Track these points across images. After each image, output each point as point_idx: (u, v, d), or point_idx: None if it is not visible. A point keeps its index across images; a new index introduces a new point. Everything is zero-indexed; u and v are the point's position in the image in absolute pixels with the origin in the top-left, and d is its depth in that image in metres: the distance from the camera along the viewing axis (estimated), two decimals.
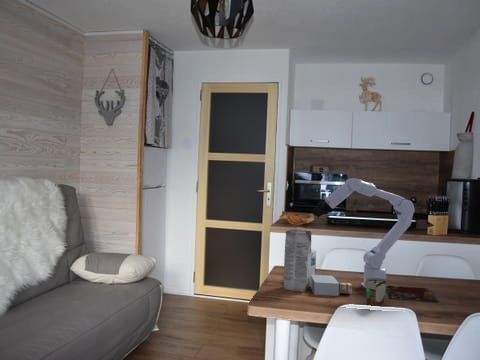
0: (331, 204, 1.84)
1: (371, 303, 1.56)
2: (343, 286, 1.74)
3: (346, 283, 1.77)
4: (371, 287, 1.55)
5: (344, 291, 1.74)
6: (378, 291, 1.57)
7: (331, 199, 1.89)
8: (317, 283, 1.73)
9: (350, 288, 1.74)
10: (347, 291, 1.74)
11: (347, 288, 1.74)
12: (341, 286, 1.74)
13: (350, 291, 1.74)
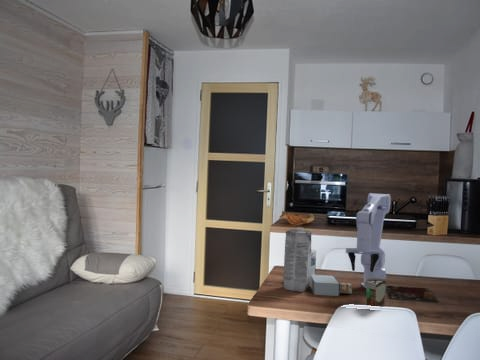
0: None
1: (371, 303, 1.56)
2: (343, 286, 1.74)
3: (346, 283, 1.77)
4: (371, 287, 1.55)
5: (344, 291, 1.74)
6: (378, 291, 1.57)
7: (370, 247, 1.75)
8: (317, 283, 1.73)
9: (350, 288, 1.74)
10: (347, 291, 1.74)
11: (347, 288, 1.74)
12: (341, 286, 1.74)
13: (350, 291, 1.74)
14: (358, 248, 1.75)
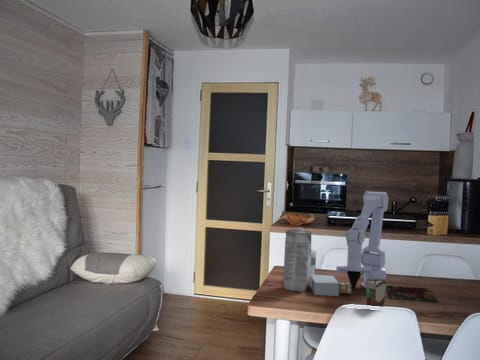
0: None
1: (371, 303, 1.56)
2: (342, 286, 1.74)
3: (345, 283, 1.77)
4: (371, 287, 1.55)
5: (343, 291, 1.74)
6: (378, 291, 1.57)
7: (360, 266, 1.75)
8: (317, 283, 1.73)
9: (349, 288, 1.74)
10: (346, 291, 1.74)
11: (346, 288, 1.74)
12: (340, 286, 1.74)
13: (349, 291, 1.74)
14: (349, 266, 1.75)
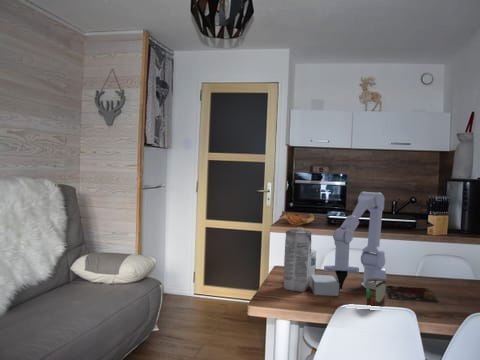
0: None
1: (371, 303, 1.56)
2: None
3: None
4: (371, 287, 1.55)
5: None
6: (378, 291, 1.57)
7: (348, 265, 1.75)
8: (317, 283, 1.73)
9: None
10: None
11: None
12: None
13: None
14: (336, 266, 1.75)
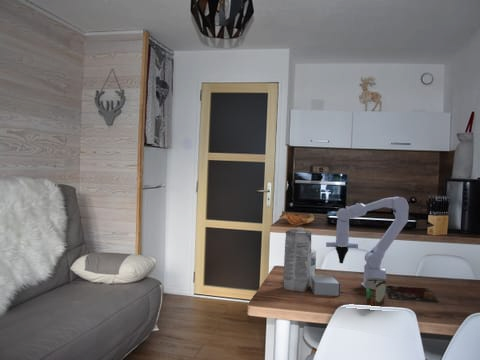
0: None
1: (371, 303, 1.56)
2: None
3: None
4: (371, 287, 1.55)
5: None
6: (378, 291, 1.57)
7: None
8: (317, 283, 1.73)
9: None
10: None
11: None
12: None
13: None
14: (337, 242, 1.92)
